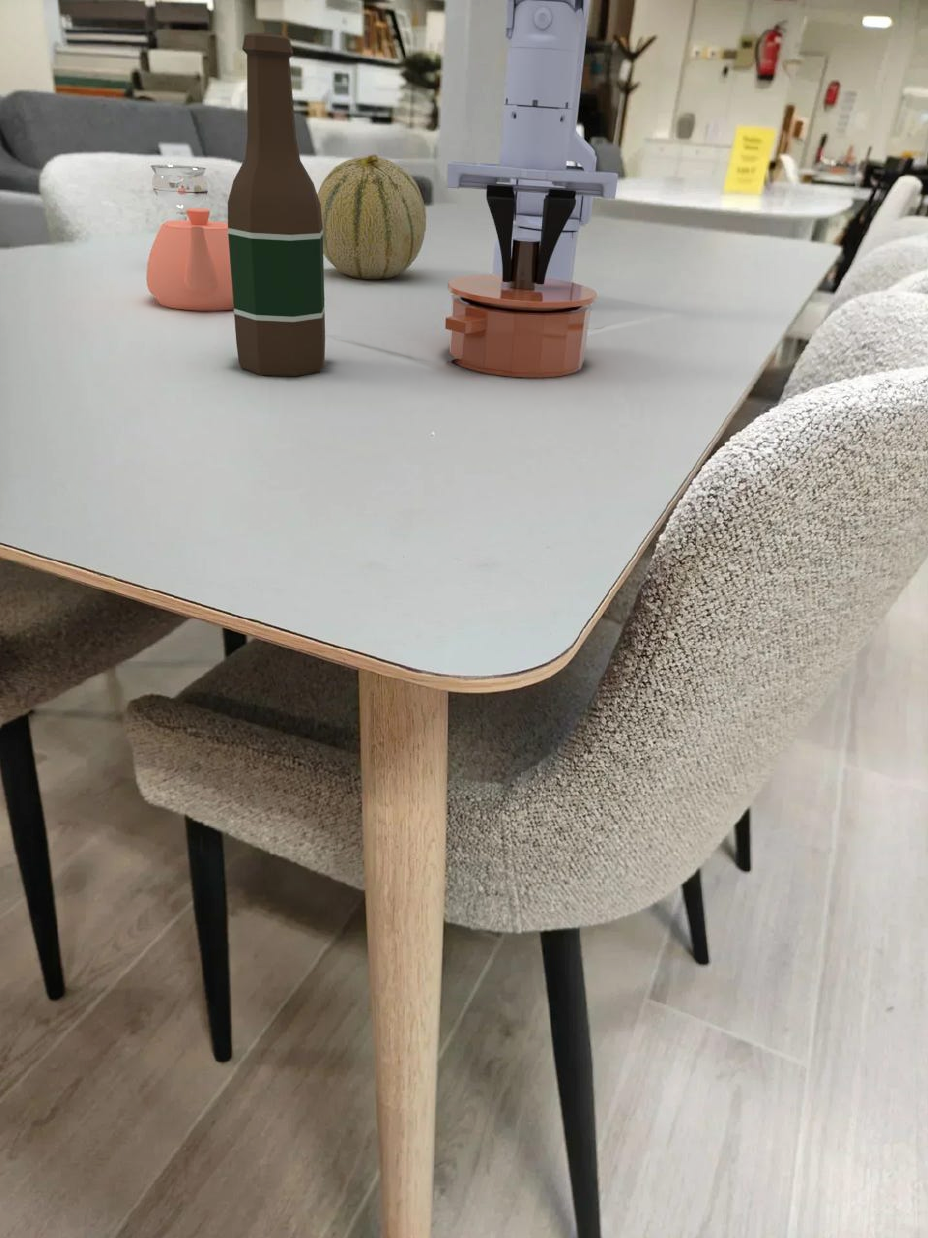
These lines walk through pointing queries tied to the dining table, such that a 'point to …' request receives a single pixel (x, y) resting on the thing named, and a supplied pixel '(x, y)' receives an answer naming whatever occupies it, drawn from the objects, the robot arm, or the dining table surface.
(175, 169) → the wineglass
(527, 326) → the faceted orange tub
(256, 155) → the beer bottle
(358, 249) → the cantaloupe
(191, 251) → the teapot
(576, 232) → the robot arm
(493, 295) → the pot lid
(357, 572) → the dining table surface
